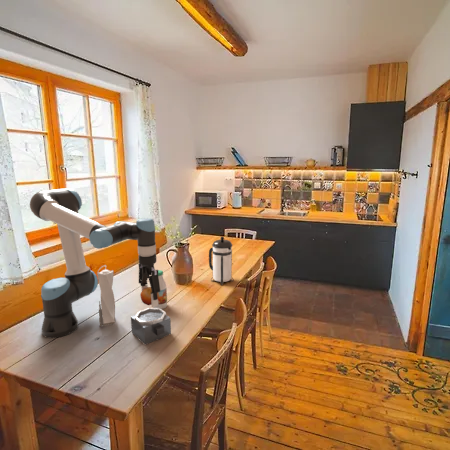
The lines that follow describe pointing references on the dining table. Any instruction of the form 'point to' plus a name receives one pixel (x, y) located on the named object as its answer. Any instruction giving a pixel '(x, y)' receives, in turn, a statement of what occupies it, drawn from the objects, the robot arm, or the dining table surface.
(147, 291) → the fruit
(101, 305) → the skyscraper
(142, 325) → the grey octagonal pot
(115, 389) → the dining table surface
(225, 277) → the coffee press
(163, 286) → the milk bottle
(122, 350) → the dining table surface
